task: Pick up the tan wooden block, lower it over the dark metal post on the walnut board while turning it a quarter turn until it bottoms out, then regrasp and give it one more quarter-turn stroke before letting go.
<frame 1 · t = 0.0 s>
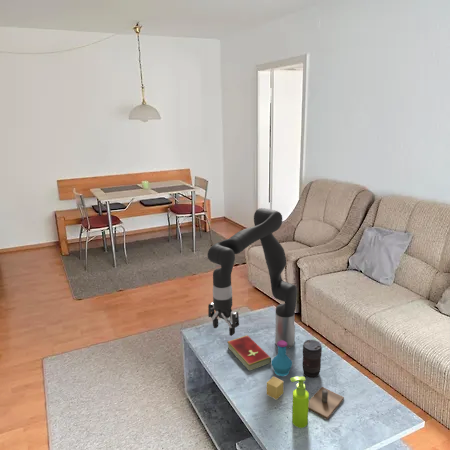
hand: (223, 331, 163), 29 cm above the table, fingers open, 8 cm apart
perfume bottle: (281, 371, 183), on the table
camera lens: (311, 373, 181), on the table
soap dispenser: (298, 422, 155), on the table
post board: (324, 403, 163), on the table
tan wooden block: (274, 393, 170), on the table
hardcover book: (248, 356, 196), on the table
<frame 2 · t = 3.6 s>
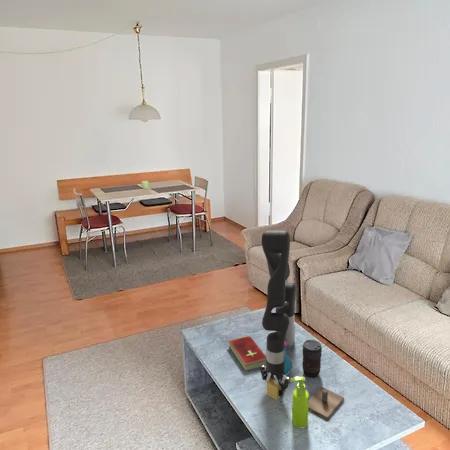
hand: (274, 392, 169), 1 cm above the table, fingers closed on tan wooden block, 5 cm apart
tan wooden block: (274, 393, 169), on the table, touching gripper
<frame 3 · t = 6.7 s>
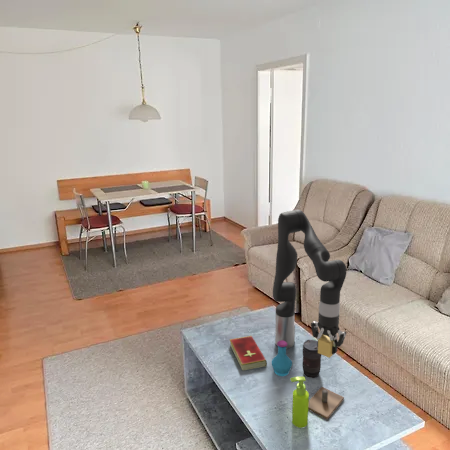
hand: (326, 350, 156), 25 cm above the table, fingers closed on tan wooden block, 5 cm apart
tan wooden block: (326, 352, 156), point 24 cm above the table, touching gripper
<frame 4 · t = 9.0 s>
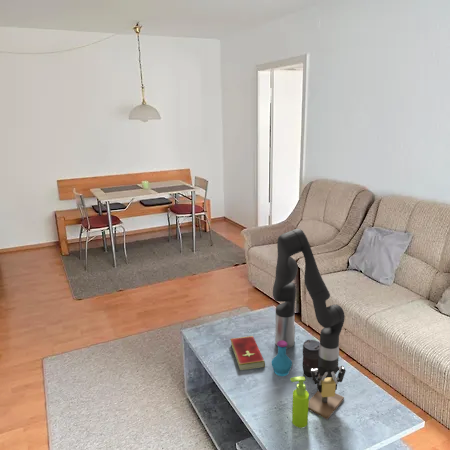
hand: (326, 390, 162), 6 cm above the table, fingers closed on tan wooden block, 5 cm apart
tan wooden block: (326, 392, 162), point 5 cm above the table, touching gripper
when the fingers open (2 cm above the table, at t = 10.2 s): tan wooden block stays where it is, resting on post board.
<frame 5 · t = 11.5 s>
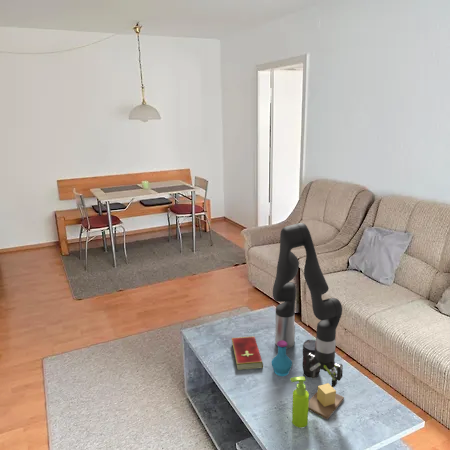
hand: (323, 381, 160), 10 cm above the table, fingers open, 8 cm apart
tan wooden block: (325, 400, 163), point 1 cm above the table, touching post board
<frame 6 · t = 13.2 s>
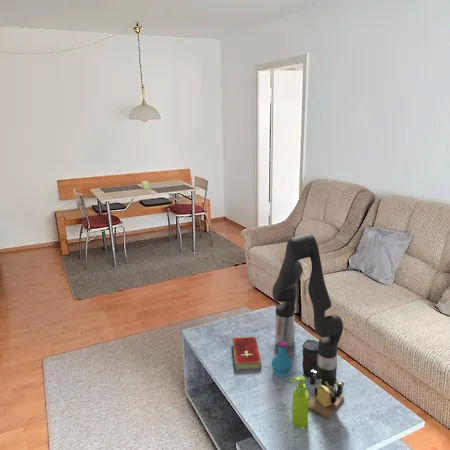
hand: (325, 398, 162), 3 cm above the table, fingers closed on tan wooden block, 6 cm apart
tan wooden block: (325, 401, 163), point 1 cm above the table, touching gripper, post board
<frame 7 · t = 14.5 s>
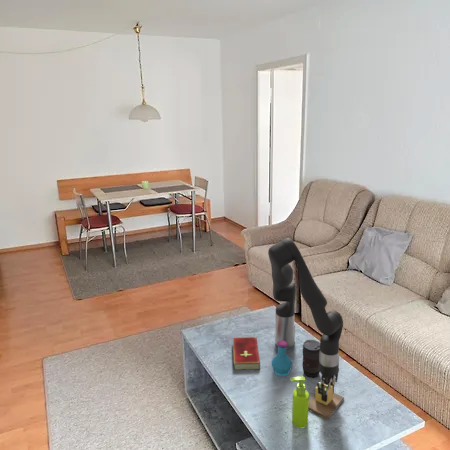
hand: (327, 396, 162), 4 cm above the table, fingers closed on tan wooden block, 5 cm apart
tan wooden block: (324, 399, 164), point 1 cm above the table, touching gripper, post board
when the fingers open (4 cm above the table, at t = 14.5 s): tan wooden block stays where it is, resting on post board.
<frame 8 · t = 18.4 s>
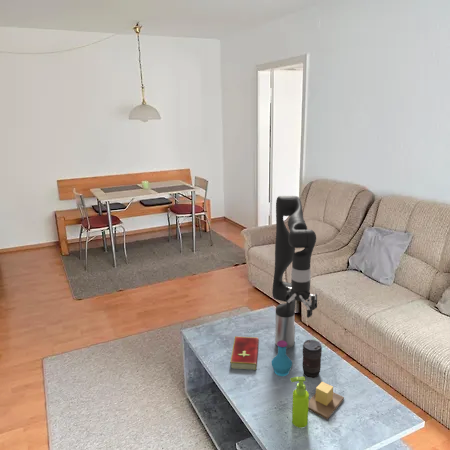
hand: (299, 313, 167), 33 cm above the table, fingers open, 8 cm apart
tan wooden block: (323, 399, 164), point 1 cm above the table, touching post board
at the end: tan wooden block 0.8 cm off-centre on the post board, point 1.2 cm above the post board's base; tan wooden block tilted 0°; the gripper is holding nothing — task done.
